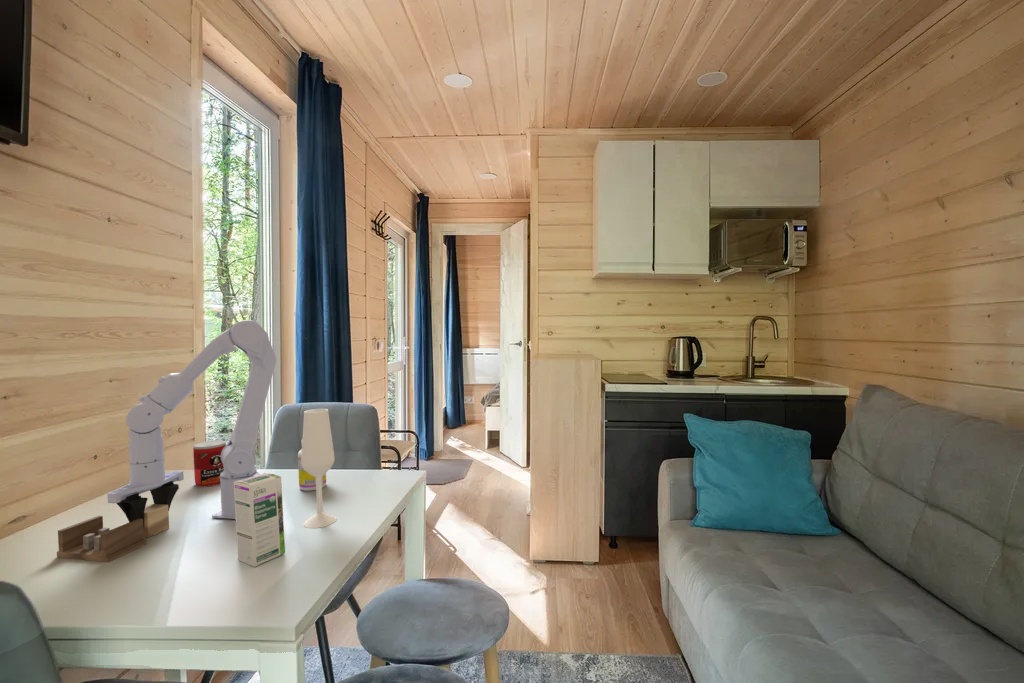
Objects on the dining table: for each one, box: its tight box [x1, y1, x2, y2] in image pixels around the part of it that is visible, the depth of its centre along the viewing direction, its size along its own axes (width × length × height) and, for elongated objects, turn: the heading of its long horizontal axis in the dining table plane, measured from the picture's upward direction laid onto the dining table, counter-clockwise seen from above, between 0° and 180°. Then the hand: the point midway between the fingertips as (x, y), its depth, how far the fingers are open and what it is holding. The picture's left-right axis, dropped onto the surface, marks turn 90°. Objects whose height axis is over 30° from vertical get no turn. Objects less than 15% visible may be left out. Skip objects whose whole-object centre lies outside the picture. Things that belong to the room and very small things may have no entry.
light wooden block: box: [143, 503, 170, 538], centre depth 96 cm, size 4×4×5 cm
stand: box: [56, 515, 147, 563], centre depth 88 cm, size 12×7×5 cm, turn 78°
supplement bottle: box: [297, 439, 327, 492], centre depth 122 cm, size 7×7×13 cm
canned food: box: [192, 439, 227, 488], centre depth 128 cm, size 8×8×11 cm
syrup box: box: [234, 472, 286, 568], centre depth 83 cm, size 6×6×14 cm
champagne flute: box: [301, 408, 337, 529], centre depth 99 cm, size 7×7×24 cm
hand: (150, 525), depth 96 cm, fingers closed on light wooden block, 4 cm apart
